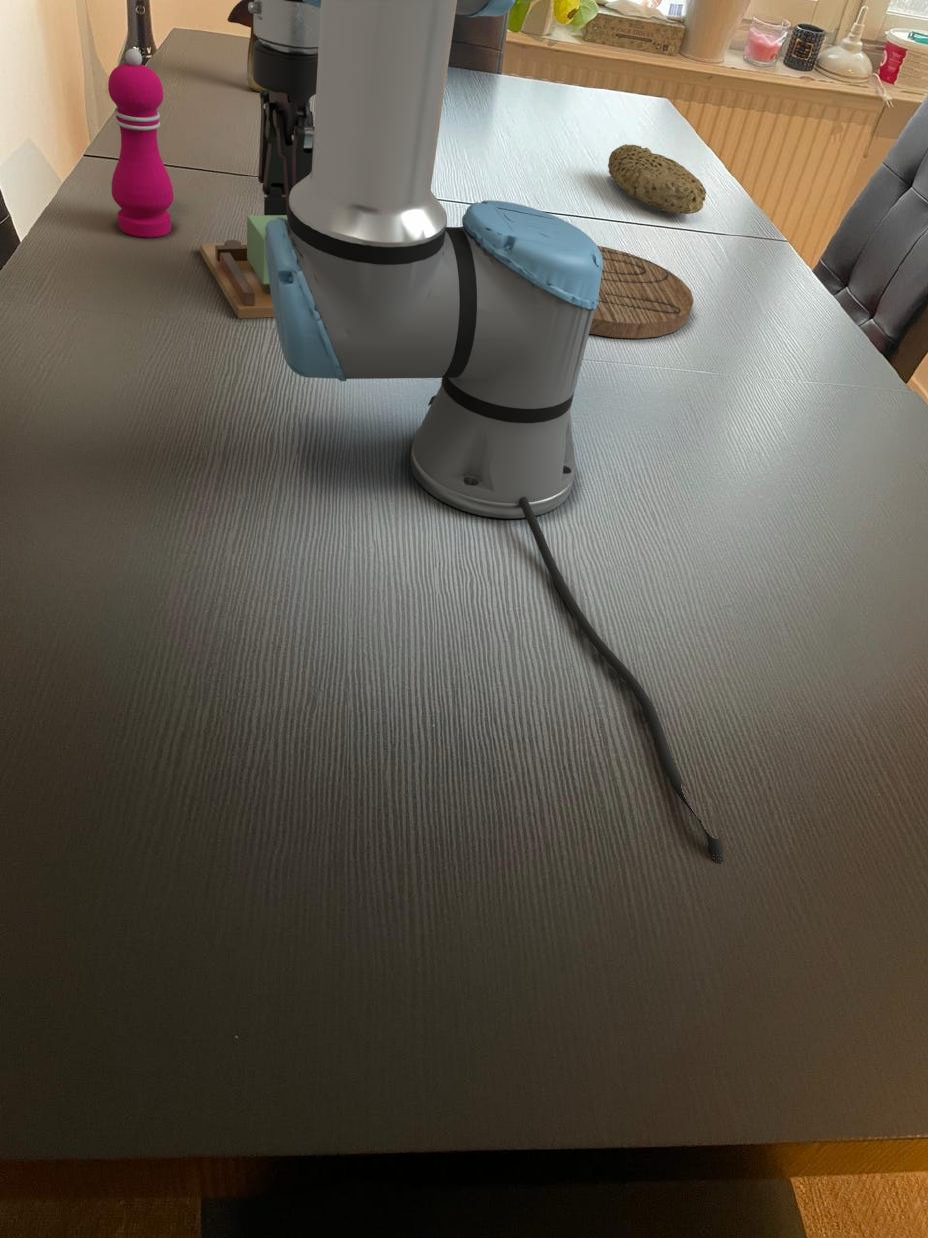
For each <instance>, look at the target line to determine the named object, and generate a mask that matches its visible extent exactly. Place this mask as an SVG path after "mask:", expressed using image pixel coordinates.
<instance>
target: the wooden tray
mask: <svg viewBox="0 0 928 1238" xmlns="http://www.w3.org/2000/svg"><path fill="white" fill-rule="evenodd" d="M199 250H200V251H199V252H200V255H201V256H202V258H203V261H204V262H205V264H206V265H207V267H208V268H209V269H208V270H209V271H210V272H211V274H212V276H213V277H214V279H215V281H216V282H217V284H218V286H219V288H220V289H221V291H222V293H223V295H224V296H225V298H226V299H227V301H228V304H229V305H230V306H231V308H232V310H233V312H234V313H235V315H236V317H237V319H239V320H240V319H259V318H261V319H262V318H275V315H274V309H273V303H272V297H271V290H270V284H263V283H262V281H261V280H260V278H259V276H258V275H257V273H256V272H255V270H254V269H253V267H252V266H251V264H250V262H249V261H248V259H247V242H241V241H239V240H236V239H226V240H224V242H221V243H220V242H218V243H217V242H215V243H214V242H213V243H212V242H211V243H200V244H199Z"/></svg>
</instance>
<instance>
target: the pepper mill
mask: <svg viewBox="0 0 928 1238" xmlns="http://www.w3.org/2000/svg"><path fill="white" fill-rule="evenodd" d="M125 61H126V63H122V64H119V65H117V66H116V67H114V69H113V70H112V71H111V72H110V74H109V77H108V84H107V89H108V95H109V98H110V99H111V100H112V102H113V103H114V104H115V106H116V107H117V108H115V110H114V114H115V121H114V122H115V123H116V124H117V125H118V126H119V131H120V152H119V157H118V161H117V163H116V165H115V169H114V172H113V174H112V179H111V196H112V199H113V201H114V202H115V203H116V204H117V206H119V208H120V209H119V210H118V211H117V224H118V228H119V230H120V231H121V232H123V233H125V234H126V235H130V236H132V237H137V238H145V239H146V238H147V239H148V238H151V239H152V238H161V237H163V236H166V235H168V234H170V232H171V230H172V222H171V221H172V220H171V214H170V213H169V212H168V209H169V208H170V207H171V205H172V204H173V202H174V188H173V184H172V181H171V177H170V175H169V173H168V171H167V169H166V167H165V166H166V165H165V164H164V162H163V159H162V157H161V154H160V150H159V144H158V143H159V142H158V129H159V128H160V127H161V121H160V118H161V114H160V112H158V111H157V110H158V108H159V107H160V106H161V104H162V103H163V100H164V88H163V84H162V81H161V79H160V77H159V76H158V75H157V73H156V72H155V71H154V70H153V69H151V68H150V67H149V66H146V65H144V64H142V62H143V56H142V54H141V52H140V51H139V50H138V49H137V48H129V49H128V50H127V51H126V52H125Z"/></svg>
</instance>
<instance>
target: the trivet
mask: <svg viewBox="0 0 928 1238" xmlns="http://www.w3.org/2000/svg"><path fill="white" fill-rule="evenodd" d="M597 246H598V248H599V250H600V252H601V255H602V259H603V270H602V276H601V283H600V289H599V296H598V300H599V303H598V306H597V308H596V309H595V311H594V315H593V319H592V323H591V327H590V331H589V335H590V334H591V335H597V336H603V337H607V338H608V337H609V338H620V339H647V338H657V337H661V336H665V335H668V334H671V333H675V332H677V331H678V330H680V329H681V328H682V327H684V326H685V325H686V324H687V321H688V320H689V318H690V316H691V315H690V314H691V311H692V308H693V304H694V301H695V299H694V297H693V294H692V290H691V289H690V288H689V286H688V285H686V283H685V282H684V281H683V280H682V279H681V278H680V277H678V276H677V275H675V274H674V273H672V272H671V271H670V270H668V269H666V268H664V267H663V266H660V265H659V264H657V263H655V262H653V261H650V260H648V259H645V258H643V257H640V256H637V255H635V254H632V253H629V252H625V251H622V250H618V249H614V248H612V247H611V248H610V247H606V246H601V245H597Z"/></svg>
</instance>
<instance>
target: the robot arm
mask: <svg viewBox="0 0 928 1238" xmlns="http://www.w3.org/2000/svg"><path fill="white" fill-rule="evenodd" d="M515 3H516V0H254V2H249V4H248V10H249V12H250V13H253V14H254V34H255V35H256V36H257V37H258V38H259V39H258V40H256V41H255V43H254V44H253V79H254V81H255V83H256V84H257V85H259V86H260V87H262V88H264V89H261V91H259V99H260V126H259V127H260V128H259V129H260V130H259V154H258V155H259V156H258V176H257V179H258V182H259V184H262V189H261V190H262V193H263V195H264V197H263V203H264V204H263V215H287V219H284V218H281V217H278V218H277V219H275V220H270V221H269V222H268V223H267V224H266V227H265V230H266V236H265V248H266V259H267V268H268V276H269V283H270V290H271V297H272V303H273V309H274V315H275V317H274V320H275V325H276V330H277V335H278V338H279V343H280V348H281V352H282V354H283V359H284V360H285V362H286V364H287V366H288V367H289V369H291V370H292V372H294V374H296V375H298V376H300V377H304V378H310V379H311V378H312V379H334V380H335V379H336V380H338V381H340V382H347V380H363V379H364V380H367V379H368V380H369V379H370V380H371V379H372V380H375V379H377V380H380V379H381V380H382V379H385V380H387V379H388V380H389V379H441V382H440V387H439V389H438V391H437V393H436V394H435V395H433V396H432V397H431V398H430V399H429V402H428V404H427V406H428V407H429V408H428V410H427V412H426V414H425V416H424V418H423V420H422V422H421V424H420V426H419V427H418V429H417V431H416V433H415V435H414V438H413V441H412V444H411V445H412V446H411V453H410V461H409V462H410V469H411V472H412V474H413V476H414V479H415V480H416V481H417V482H418V484H419V485H420V486H421V487H422V488H423V489H424V490H425V491H426V492H428V494H430V495H431V496H433V497H434V498H436V499H437V500H439V501H440V502H443V503H445V504H446V505H448V506H451V507H453V508H455V509H457V510H461V511H464V512H466V513H470V514H473V515H478V516H483V517H489V518H494V519H495V518H496V519H523V518H524V519H525V520H526V522H527V524H528V526H529V529H530V530H531V531H530V532H531V533H532V535H533V537H534V540H535V542H536V545H537V547H538V550H539V552H540V554H541V557H542V560H543V562H544V564H545V566H546V569H547V571H548V573H549V575H550V577H551V579H552V581H553V583H554V585H555V587H556V589H557V591H558V592H559V595H560V596H561V598H562V600H563V603H565V606H566V608H567V609H568V611H569V612H570V614H571V616H572V617H573V619H574V621H575V622H576V624H577V625H578V627H579V628H580V630H581V631H582V632H583V634H584V635H585V637H586V638H587V639H588V641H589V642H590V643H591V645H592V646H593V647H594V649H596V651H597V652H598V653H599V654H600V655H601V656H602V658H603V659H604V660H605V661H606V663H608V665H610V667H611V668H612V669H613V671H615V672H616V673H617V674H618V676H619V677H620V678H621V679H622V680H623V682H624V683H625V684H626V685H627V687H628V688H629V690H630V691H631V692H632V694H633V696H634V697H635V699H636V700H637V702H638V703H639V705H640V707H641V709H642V711H643V713H644V715H645V717H646V720H647V723H648V725H649V728H650V731H651V734H652V737H653V740H654V743H655V747H656V749H657V753H658V756H659V759H660V762H661V764H662V767H663V769H664V772H665V774H666V776H667V778H668V781H669V783H670V785H671V786H672V788H673V790H674V791H675V793H676V794H677V796H678V797H679V799H680V800H681V801H682V802H683V803H684V805H686V807H687V808H688V809H689V810H690V811H691V813H692V814H693V815H694V816H695V818H696V820H697V821H698V822H699V824H700V825H701V827H702V829H703V832H704V834H705V836H706V839H707V843H708V847H709V848H708V849H709V854H710V855H709V856H710V858H711V859H712V861H713V862H714V863H715V864H718V865H721V864H723V863H724V851H723V846H722V841H721V838H720V836H719V838H718V839H714V838H712V837H711V836H710V835H709V834H708V833H707V832H706V830H705V829H704V827H703V825H702V824H701V822H700V821H699V819H698V818H697V817H696V815H695V814H694V812H693V811H692V809H691V808H690V806H689V805H688V803H687V801H686V799H685V797H684V794H683V792H682V788H681V783H682V784H683V785H684V786H685V787H687V785H686V784H685V782H684V780H683V778H682V777H681V775H680V772H679V771H678V768H677V766H676V763H675V761H674V758H673V755H672V753H671V750H670V746H669V744H668V740H667V737H666V734H665V731H664V728H663V726H662V725H663V724H662V723H661V720H660V718H659V716H658V712H657V710H656V709H655V707H654V704H653V703H652V701H651V699H650V698H649V696H648V695H647V693H646V691H645V690H644V688H643V686H642V685H641V684H640V682H639V681H638V680H637V679H636V677H635V676H634V675H633V674H632V672H631V671H630V670H629V669H628V668H627V667H626V666H625V664H623V662H622V661H621V660H620V659H619V658H618V657H617V656H616V655H615V654H614V653H613V651H612V650H611V649H610V648H609V647H608V646H607V645H606V643H605V642H604V641H603V639H602V638H601V637H600V636H599V634H598V633H597V632H596V630H594V627H593V626H592V625H591V623H590V622H589V621H588V619H587V618H586V616H585V614H584V613H583V611H582V610H581V608H580V607H579V605H578V603H577V601H576V600H575V598H574V596H573V595H572V593H571V591H570V589H569V587H568V585H567V583H566V581H565V580H564V578H563V576H562V574H561V572H560V569H559V568H558V565H557V563H556V561H555V559H554V558H553V555H552V553H551V550H550V547H549V546H548V542H547V539H546V537H545V536H544V534H543V531H542V528H541V527H540V523H539V521H538V519H537V518H536V516H539V515H540V516H541V515H543V514H546V513H549V512H551V511H553V510H556V509H557V508H558V507H560V506H561V505H562V504H564V502H565V501H566V500H567V499H568V498H569V496H570V494H571V492H572V488H573V483H574V479H575V477H576V455H575V447H574V446H575V445H574V438H573V437H574V436H573V427H572V426H573V425H572V418H571V417H572V416H571V408H572V403H573V399H574V395H575V391H576V387H577V383H578V380H579V376H580V372H581V367H582V363H583V359H584V355H585V351H586V347H587V343H588V339H589V336H590V333H589V331H590V327H591V323H592V319H593V315H594V311H595V309H596V308H597V306H598V303H599V300H598V296H599V289H600V283H601V276H602V270H603V259H602V255H601V252H600V250H599V248H598V246H599V245H597V244H596V242H595V241H594V240H593V239H592V238H591V237H590V236H589V234H587V233H585V231H583V230H581V229H580V228H578V227H576V226H575V225H574V224H572V223H570V222H568V221H566V220H564V219H562V218H560V217H558V216H555V215H553V214H551V213H548V212H546V211H543V210H540V209H537V208H533V207H531V206H526V205H523V204H519V203H515V202H509V201H502V200H494V199H491V200H490V199H489V200H482V201H481V202H478V201H476V202H473V203H472V204H470V205H469V206H468V207H467V208H466V211H465V213H464V214H463V215H462V217H461V225H462V226H448V215H447V214H448V213H447V211H446V209H445V207H444V206H443V205H442V203H441V202H440V201H439V200H438V198H437V196H435V194H434V193H433V191H432V183H433V178H434V177H433V175H434V169H435V163H436V162H435V161H436V155H437V147H438V141H439V133H440V126H441V118H442V111H443V104H444V98H445V91H446V89H445V88H446V83H447V75H448V69H449V61H450V54H451V48H452V40H453V32H454V25H455V19H456V15H460V16H461V17H464V18H465V17H467V18H476V17H496V18H497V17H502V16H503V15H506V14H508V12H510V10H511V9H512V8H513V5H514V4H515ZM314 96H315V103H314V104H315V106H314V114H313V111H312V110H311V103H310V100H311V98H312V97H314ZM687 789H688V790H689V788H688V787H687ZM718 834H719V835H720V833H719V832H718ZM722 854H723V855H722ZM713 855H714V856H713ZM717 855H718V856H717ZM720 855H721V856H720ZM722 856H723V857H722ZM712 857H713V858H712ZM714 858H715V859H714ZM718 858H719V859H718ZM720 859H721V860H720ZM716 861H717V862H716ZM721 862H723V863H721Z"/></svg>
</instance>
